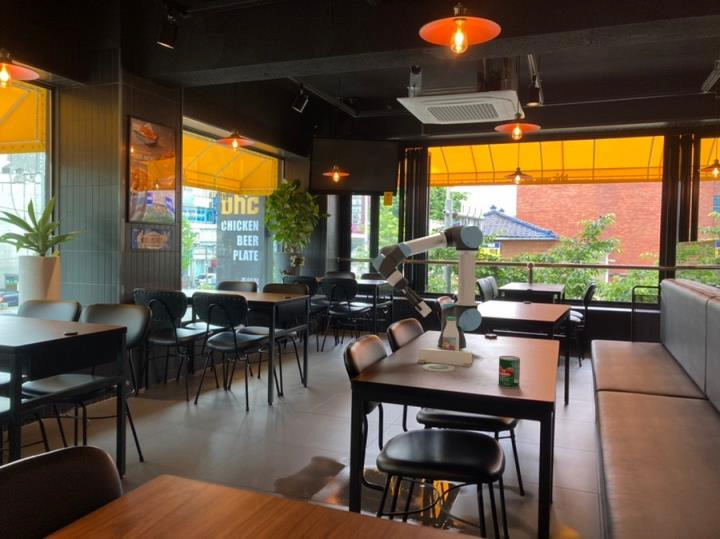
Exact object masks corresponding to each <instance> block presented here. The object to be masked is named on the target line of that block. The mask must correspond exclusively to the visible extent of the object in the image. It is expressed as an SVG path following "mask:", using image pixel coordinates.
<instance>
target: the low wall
mask: <svg viewBox="0 0 720 539" xmlns="http://www.w3.org/2000/svg"><path fill="white" fill-rule="evenodd" d="M472 356H473V352H472V351H464V350H463V351H462V350H459V351H452V350H443V349H437V348H436V349H435V348H425V347H424V348H422V347H419V348H418V359H417V363H419V364H420V363H421V364H424V362H425V363H429V362H431V363H430V364H445V365H452V364H453V365H454V366H455V365H456V366H463V367H464V368H465V367H467V368H470V367H472V365H473V361H472V359H473V358H472ZM453 365H452V366H453Z"/></svg>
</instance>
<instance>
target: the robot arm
mask: <svg viewBox="0 0 720 539" xmlns="http://www.w3.org/2000/svg"><path fill="white" fill-rule="evenodd" d="M483 241H484V234H483V231H482V229H480V227H479V226H477V225H474V224H459V225H454V226H451V227H448V228H445V229H442V230H440V231H439V230H438V232H437V233H435V234H431V235H427V236H423V237H419V238H414V239H411V240H408V241H404V242H403V241H401V242H399V243H397V244H392V245H385V246H382V247H381V248H380V249H379V251H378V256H377V257H375V258H374V260H373V261H372V266H373V268H374V269H375V270H376V272H378V273H379V274H380V275H381V276H382V277H383V279H385V281H386V282H387V284H390V286H391V287H392V288H393V289H394V291H396V292H397V293H400V292H401V294H402V295H404V297H405V299H406V300H408V302H409V303H410V304H411V307H412V308H413V309H414V308H415V309H416V310H417V312H419V313H420V315H422V317H423V318H426V317H427V316H428V315H429V314H430V313H431V312H432V310H433V309H431V307H429V306H428V304H426V302H424V298H421V296H420V295H418V294H417V293H416V292H415V291H414V290H413V289H412V288H411V287H410V286H407V285H408V284H409V280H408V279H407V278H406V277H404V276H403V274H402V273H401V272H400V271H399V269H397V267H398V266H399V265H400V264H402V262H404V261H405V260H406V259H408V257H410V256H413V255H417V254H422V253H426V252H429V251H433V250H437V249H439V248H440V249H448V248H455V252H456V253H457V254H458V265H457V266H458V268H457V270H458V272H457V273H458V274H457V275H458V276H457V278H458V279H457V281H458V282H457V301H456V302H453V303H450V302H449V303H443V304H442V306H441V311H440V312H441V331H440V334H439V338H438V340H437V346H439V347H441V348H443V332H444V329H445V327H446V325H447V320H446V318H447V317H456V327H457V329H458V332H459V349H462V348H466V347H467V341H466V336H465V334H464V331H465V332H466V331H468V332H470V331H474V330H476V329H478V328H479V326H481V323H482V317H483V316H482V314H481V312H480V311H479V310H478V309H479V308H478V307H479V305H478V303H477V301H475V300H476V258H477V257H476V255H477V253H479V252H480V251H479V250H480V246H481V244H483Z"/></svg>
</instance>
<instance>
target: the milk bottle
mask: <svg viewBox="0 0 720 539" xmlns="http://www.w3.org/2000/svg"><path fill="white" fill-rule="evenodd" d="M446 320H447V325H446V327H445V329H444V332H443V347H442V350H452V351H460V348H459V332H458V329H457V327H456V317H447V318H446Z"/></svg>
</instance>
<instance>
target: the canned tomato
mask: <svg viewBox="0 0 720 539" xmlns="http://www.w3.org/2000/svg"><path fill="white" fill-rule="evenodd" d="M520 372H521V357H519V356H515V355H501V356H498V387H500V388H505V389H518V388H520V380H521V379H520V376H521V374H520Z"/></svg>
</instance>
